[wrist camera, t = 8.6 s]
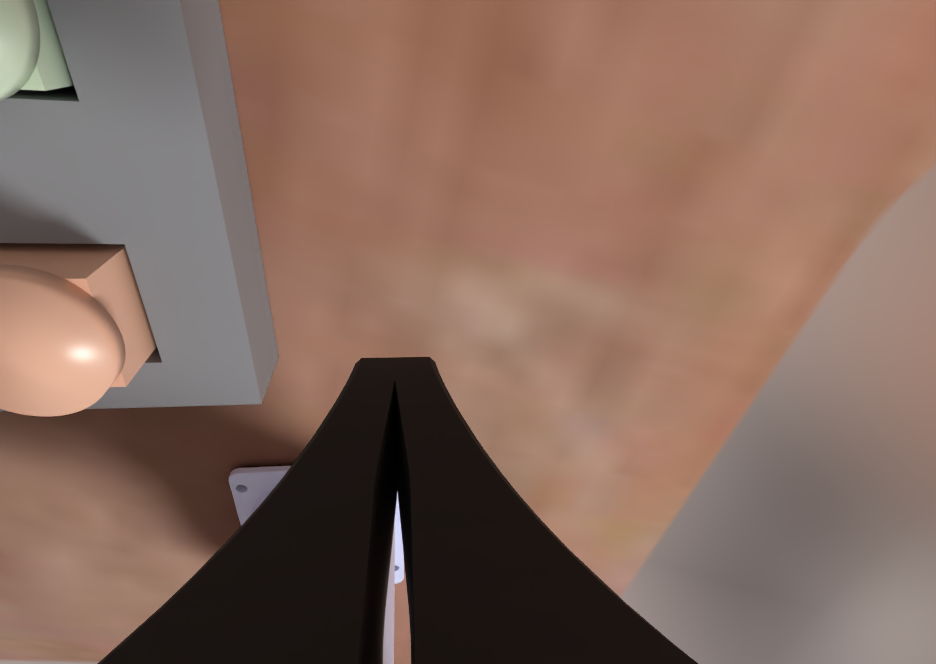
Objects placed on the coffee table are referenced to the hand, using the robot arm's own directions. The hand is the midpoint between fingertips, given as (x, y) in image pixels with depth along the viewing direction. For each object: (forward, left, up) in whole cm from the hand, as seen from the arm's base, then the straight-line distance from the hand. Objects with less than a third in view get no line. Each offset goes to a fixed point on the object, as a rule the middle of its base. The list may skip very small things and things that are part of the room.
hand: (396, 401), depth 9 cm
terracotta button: (-2, +10, -9) cm, 14 cm away
